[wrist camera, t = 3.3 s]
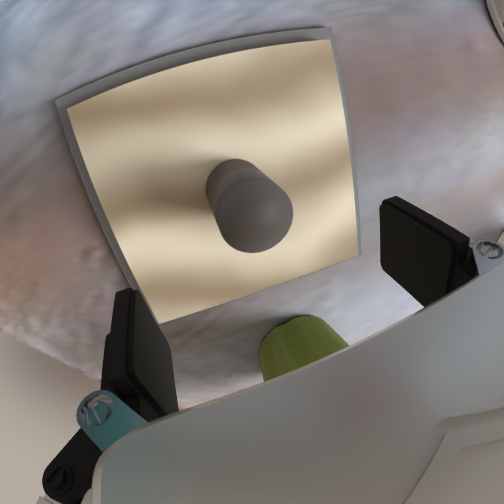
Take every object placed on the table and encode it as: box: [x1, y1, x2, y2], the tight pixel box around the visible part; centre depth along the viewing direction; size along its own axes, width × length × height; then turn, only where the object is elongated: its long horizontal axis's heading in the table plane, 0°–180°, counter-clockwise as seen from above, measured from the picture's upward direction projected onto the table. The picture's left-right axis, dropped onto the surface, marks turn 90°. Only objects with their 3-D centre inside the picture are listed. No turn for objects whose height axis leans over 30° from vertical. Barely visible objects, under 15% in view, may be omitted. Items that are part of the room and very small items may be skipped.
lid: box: [67, 39, 358, 324], centre depth 17 cm, size 16×16×6 cm
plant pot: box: [259, 316, 349, 382], centre depth 25 cm, size 12×12×11 cm
